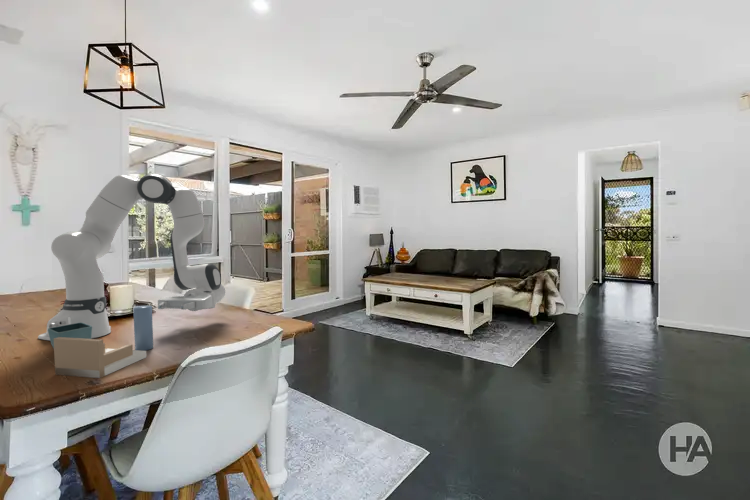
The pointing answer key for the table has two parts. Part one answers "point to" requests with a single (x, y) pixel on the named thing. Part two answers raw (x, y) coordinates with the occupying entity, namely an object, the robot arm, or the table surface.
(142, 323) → the light blue cylinder
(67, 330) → the flower pot
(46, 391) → the table surface
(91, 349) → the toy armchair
